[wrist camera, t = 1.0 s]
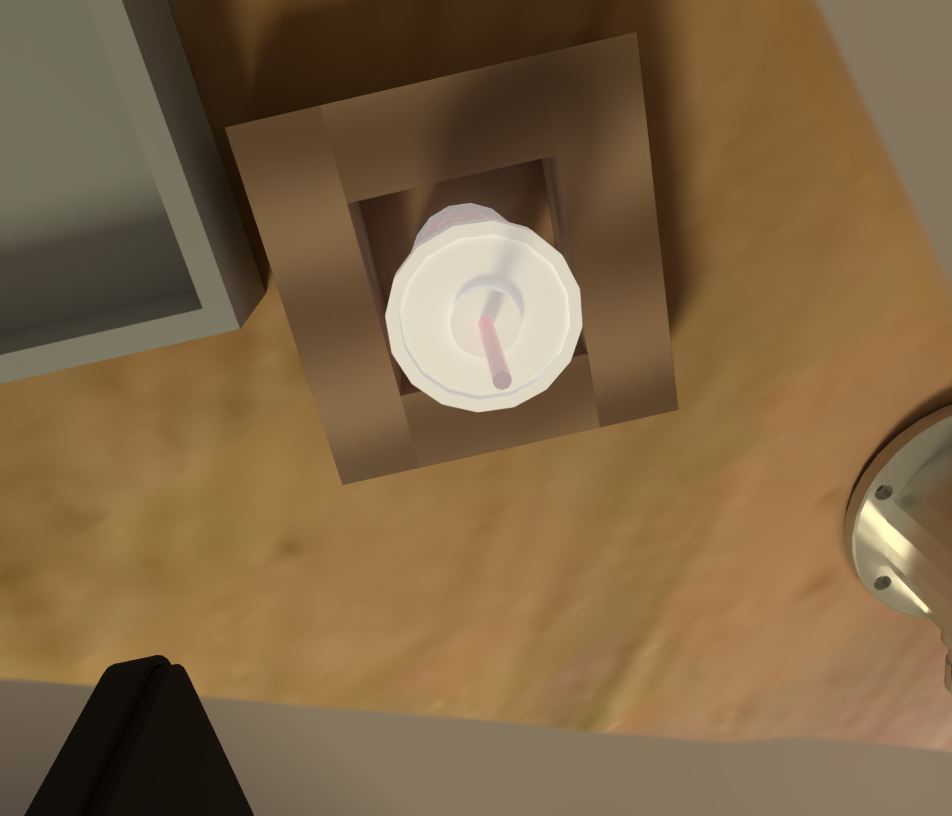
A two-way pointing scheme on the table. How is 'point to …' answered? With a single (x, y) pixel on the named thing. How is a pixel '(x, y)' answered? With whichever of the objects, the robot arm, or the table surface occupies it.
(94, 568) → the table surface
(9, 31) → the tray
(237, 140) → the holder block
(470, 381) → the beverage cup
